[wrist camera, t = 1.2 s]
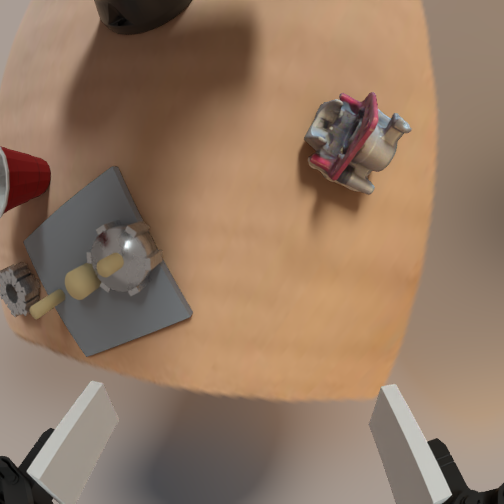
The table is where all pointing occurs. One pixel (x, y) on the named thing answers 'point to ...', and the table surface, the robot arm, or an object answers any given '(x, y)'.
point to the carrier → (86, 281)
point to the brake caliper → (353, 141)
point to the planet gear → (19, 288)
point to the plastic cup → (21, 178)
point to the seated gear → (125, 255)
